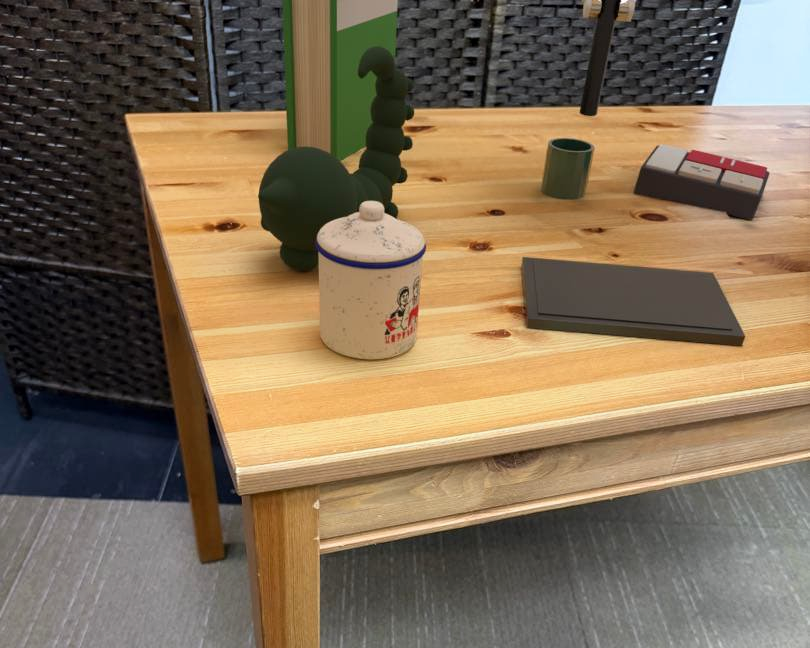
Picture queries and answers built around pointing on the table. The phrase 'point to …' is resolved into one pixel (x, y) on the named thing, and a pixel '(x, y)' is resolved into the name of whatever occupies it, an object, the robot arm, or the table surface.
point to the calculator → (702, 180)
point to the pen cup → (567, 168)
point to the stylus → (599, 57)
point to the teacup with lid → (369, 283)
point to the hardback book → (332, 70)
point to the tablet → (627, 301)
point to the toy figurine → (338, 171)
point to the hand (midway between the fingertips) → (608, 15)
